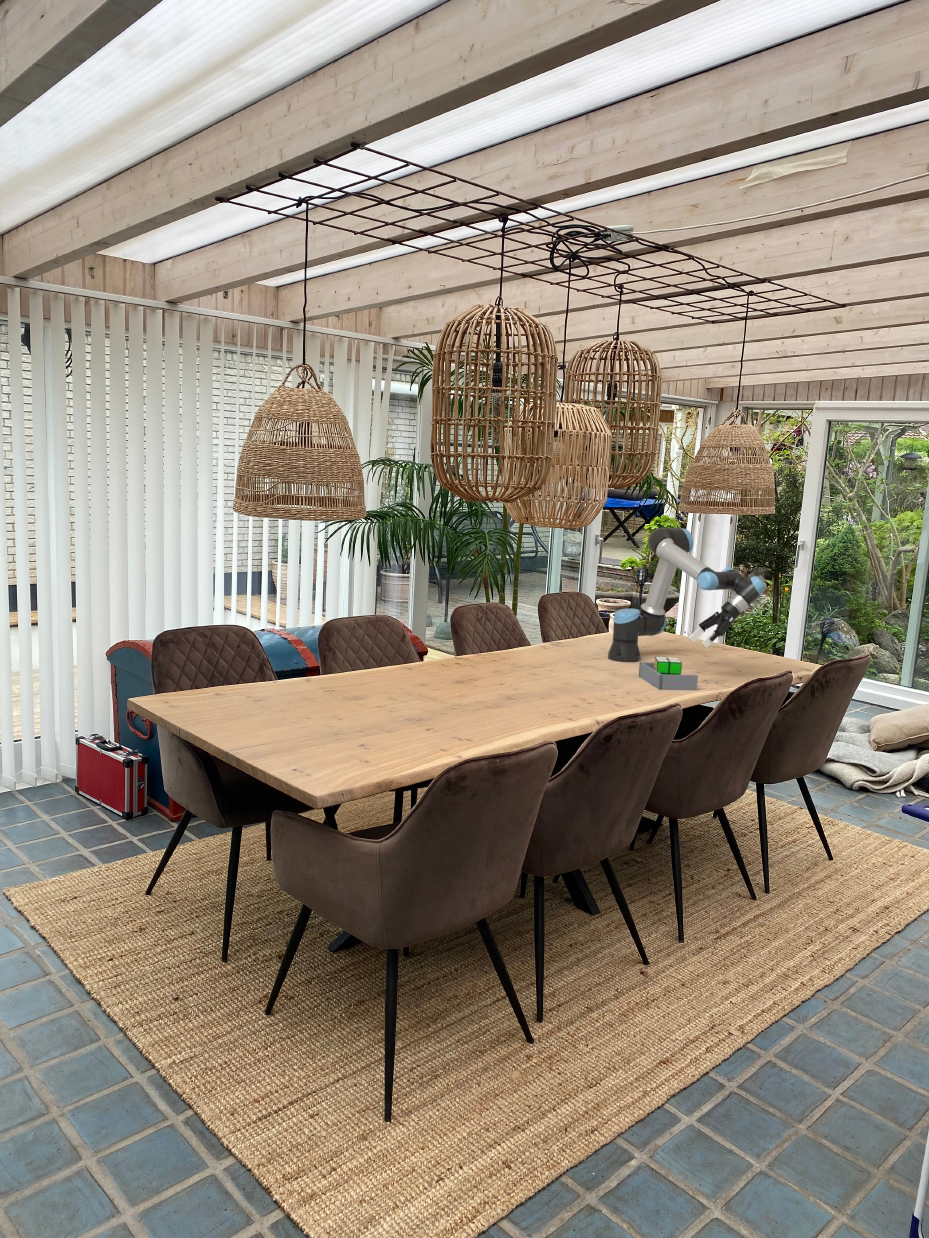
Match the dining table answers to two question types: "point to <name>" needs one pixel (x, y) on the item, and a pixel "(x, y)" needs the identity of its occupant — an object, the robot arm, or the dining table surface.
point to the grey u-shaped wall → (667, 679)
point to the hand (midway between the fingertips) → (697, 642)
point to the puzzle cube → (668, 666)
